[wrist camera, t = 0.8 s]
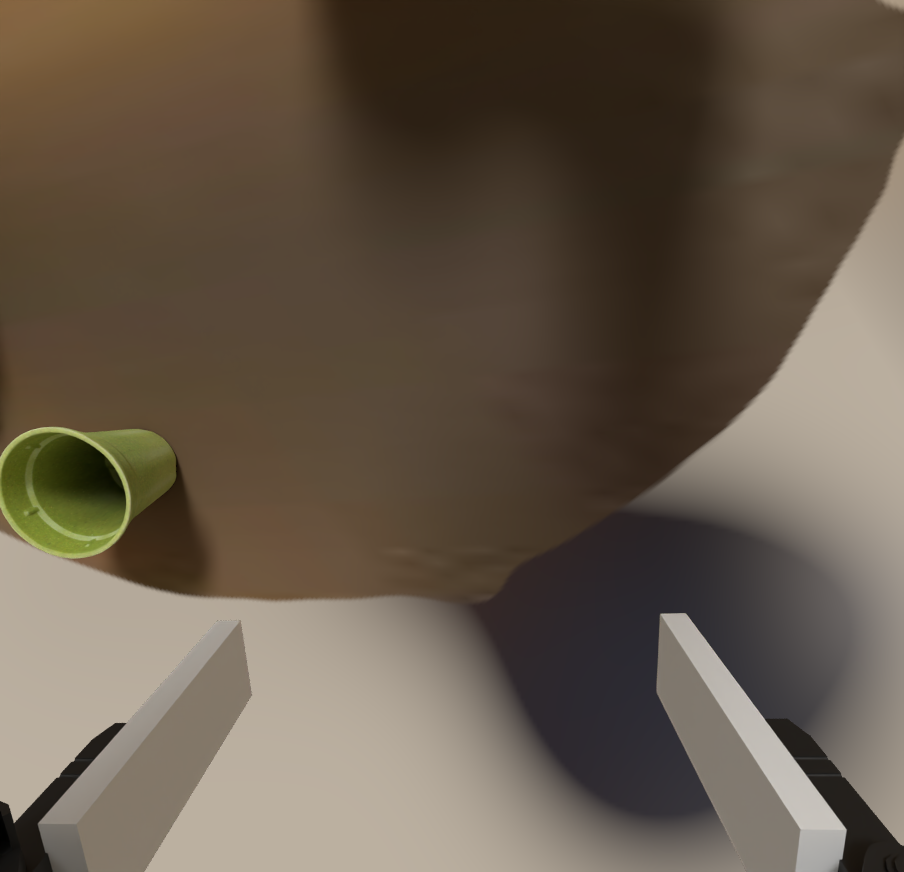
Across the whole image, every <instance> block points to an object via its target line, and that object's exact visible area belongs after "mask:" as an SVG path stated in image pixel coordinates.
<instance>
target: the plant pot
mask: <svg viewBox="0 0 904 872" xmlns="http://www.w3.org/2000/svg"><path fill="white" fill-rule="evenodd" d="M118 474H119V476H120V478H121V480H122V481H121V480H120V478H119V476H118ZM175 479H176V457H175V454H174V452H173V450H172V448H171V447H170V445H169V444H168V443H167V442H166V441H165V440H164V439H163V438H162V437H160V436H159V435H157V434H155V433H154V432H151V431H147V430H141V429H127V430H116V431H104V432H90V433H84V432H78V431H76V430H72V429H68V428H62V427H45V428H38V429H34V430H31V431H28V432H26V433H24V434H22V435H20V436H19V437H17V438H16V439H14V440H13V441H12V442H11V443H10V444H9V445H8V446H7V447H6V449H5V450H4V452H3V453H2V455H1V457H0V508H1V510H2V512H3V514H4V516H5V518H6V519H7V521H8V522H9V524H10V525H11V527H12V528H13V529H14V530H15V531H16V532H17V533H18V534H19V535H20V536H21V537H22V538H23V539H24V540H26V541H27V542H28V543H30V544H31V545H33V546H34V547H36V548H38V549H40V550H42V551H44V552H47V553H48V554H51V555H55V556H59V557H64V558H84V557H90V556H94V555H97V554H99V553H101V552H103V551H105V550H107V549H108V548H110V547H111V546H112V545H114V544H115V543H116V542H117V541H118V540H119V539H120V538H121V536H122V535H123V534H124V532H125V531H126V529H127V527H128V525H129V523H130V522H131V520H132V519H133V518H134V517H135V516H137V515H138V514H139V513H140V512H142V511H143V510H144V509H145V508H146V507H148V506H149V505H150V504H151V503H153V502H154V501H155V500H156V499H158V498H159V497H160V496H162V495H163V494H164V493H165V492H167V491H168V490H169V489H170V488H171V486H172V485H173V483H174V482H175Z"/></svg>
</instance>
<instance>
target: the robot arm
mask: <svg viewBox="0 0 904 872" xmlns="http://www.w3.org/2000/svg"><path fill="white" fill-rule="evenodd" d="M657 671H658V672H657V694H658V696H659V698H660V700H661V702H662V704H663V706H664V708H665V710H666V712H667V714H668V716H669V718H670V720H671V722H672V724H673V726H674V728H675V730H676V732H677V734H678V736H679V738H680V740H681V742H682V744H683V746H684V748H685V750H686V752H687V754H688V756H689V758H690V760H691V762H692V764H693V766H694V768H695V770H696V772H697V774H698V776H699V778H700V780H701V782H702V784H703V786H704V788H705V790H706V792H707V794H708V796H709V798H710V800H711V802H712V804H713V806H714V808H715V810H716V812H717V814H718V816H719V818H720V820H721V822H722V824H723V826H724V828H725V830H726V832H727V834H728V836H729V838H730V840H731V842H732V844H733V846H734V848H735V850H736V852H737V854H738V856H739V858H740V860H741V862H742V864H743V866H744V868H745V870H746V872H904V846H902V845H900V844H899V843H898V842H897V840H896V839H895V838H894V837H893V836H892V834H891V833H890V832H889V831H888V830H887V828H886V827H885V826H884V825H883V823H882V822H881V821H880V820H879V819H878V817H877V816H876V815H875V814H874V813H873V811H872V810H871V809H870V808H869V807H868V805H867V804H866V803H865V802H864V800H863V799H862V798H861V797H860V796H859V794H858V793H857V792H856V791H855V790H854V788H853V787H852V786H851V785H850V784H849V782H848V781H847V780H846V779H845V778H843V777H842V776H841V773H840V771H839V770H838V769H837V768H836V767H835V765H834V764H833V763H832V762H831V761H830V760H828V758H827V756H826V754H825V753H824V752H823V751H822V750H821V748H820V747H819V746H818V745H817V743H816V742H815V741H814V740H813V739H812V737H811V736H810V735H808V734H807V733H805V732H804V731H803V730H802V729H800V728H799V727H798V726H796V725H795V724H793V723H792V722H791V721H790V720H788V719H764V718H763V717H762V716H761V714H760V712H759V711H758V710H757V709H756V707H755V706H754V704H753V703H752V702H751V700H750V699H749V698H748V696H747V695H746V694H745V692H744V691H743V690H742V689H741V687H740V686H739V684H738V683H737V682H736V680H735V679H734V678H733V676H732V675H731V673H730V672H729V671H728V669H727V668H726V667H725V665H724V664H723V663H722V662H721V660H720V659H719V657H718V656H717V655H716V653H715V652H714V651H713V649H712V648H711V647H710V645H709V644H708V642H707V641H706V640H705V638H704V637H703V636H702V634H701V633H700V632H699V630H698V629H697V628H696V626H695V625H694V624H693V622H692V621H691V620H690V618H689V617H688V616H687V615H686V613H676V614H660V627H659V650H658V670H657ZM251 696H252V694H251V686H250V679H249V673H248V666H247V660H246V653H245V646H244V640H243V633H242V627H241V621H240V620H234V621H217V622H216V623H215V624H214V625H213V626H212V627H211V628H210V630H209V631H208V632H207V633H206V634H205V635H204V636H203V637H202V639H201V640H200V641H199V642H198V643H197V644H196V646H195V647H194V648H193V649H192V650H191V651H190V652H189V653H188V654H187V656H186V657H185V658H184V659H183V660H182V661H181V662H180V664H179V665H178V666H177V667H176V668H175V669H174V670H173V671H172V672H171V674H170V675H169V676H168V677H167V678H166V679H165V681H164V682H163V683H162V684H161V685H160V686H159V687H158V688H157V689H156V691H155V692H154V693H153V694H152V695H151V696H150V698H149V699H148V700H147V701H146V702H145V703H144V704H143V706H142V707H141V708H140V709H139V710H138V711H137V712H136V713H135V714H134V715H133V717H132V718H131V719H130V720H129V721H128V722H127V723H115V724H113V725H112V726H111V727H109V728H108V729H106V730H105V731H104V732H102V733H101V734H99V735H98V736H96V737H95V738H94V739H92V740H91V742H90V743H89V744H88V745H87V746H86V747H85V748H84V749H83V750H82V751H81V752H80V753H79V754H78V756H77V757H76V758H75V761H74V762H71V763H70V764H69V765H68V766H67V767H66V768H65V770H63V772H62V773H61V775H60V777H59V778H56V779H55V780H54V781H53V782H52V783H51V784H50V785H49V787H48V788H47V789H46V790H45V791H44V792H43V793H42V794H41V795H40V797H38V798H37V799H36V800H35V802H34V803H33V804H32V805H31V806H30V807H29V808H28V809H27V810H26V811H25V812H24V813H23V814H22V816H21V817H20V818H19V819H18V820H17V821H16V822H15V823H13V819H12V815H11V811H10V808H9V805H8V804H6V803H3V802H1V801H0V872H144V871H145V870H146V868H147V866H148V865H149V863H150V862H151V860H152V858H153V857H154V855H155V853H156V851H157V850H158V848H159V847H160V845H161V843H162V842H163V840H164V838H165V837H166V835H167V834H168V832H169V830H170V829H171V827H172V825H173V824H174V822H175V820H176V819H177V817H178V816H179V814H180V812H181V811H182V809H183V807H184V806H185V804H186V803H187V801H188V799H189V797H190V796H191V794H192V793H193V791H194V789H195V788H196V786H197V784H198V783H199V781H200V779H201V778H202V776H203V775H204V773H205V771H206V769H207V768H208V766H209V765H210V763H211V761H212V760H213V758H214V756H215V755H216V753H217V752H218V750H219V748H220V747H221V745H222V743H223V742H224V740H225V739H226V737H227V735H228V733H229V732H230V730H231V729H232V727H233V725H234V723H235V722H236V720H237V719H238V717H239V716H240V714H241V712H242V711H243V709H244V707H245V706H246V704H247V702H248V701H249V699H250V697H251Z"/></svg>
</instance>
